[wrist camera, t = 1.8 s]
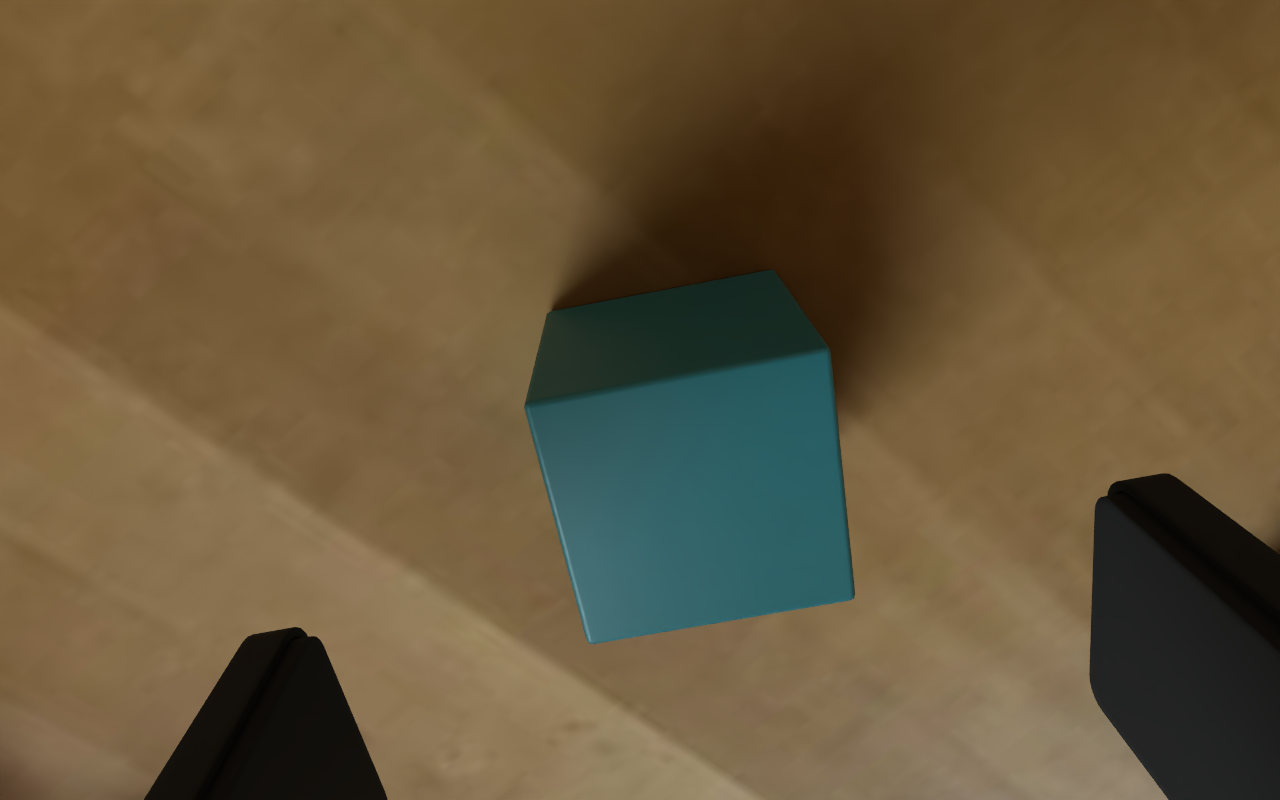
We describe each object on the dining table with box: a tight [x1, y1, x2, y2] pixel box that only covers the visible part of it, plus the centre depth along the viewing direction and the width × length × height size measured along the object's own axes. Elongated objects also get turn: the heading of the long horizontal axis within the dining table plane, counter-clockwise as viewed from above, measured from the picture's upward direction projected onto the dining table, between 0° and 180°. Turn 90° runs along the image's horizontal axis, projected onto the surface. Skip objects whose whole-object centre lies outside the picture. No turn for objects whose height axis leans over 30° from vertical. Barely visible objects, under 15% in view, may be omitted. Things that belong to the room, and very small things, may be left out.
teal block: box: [524, 270, 855, 644], centre depth 14 cm, size 4×4×4 cm
